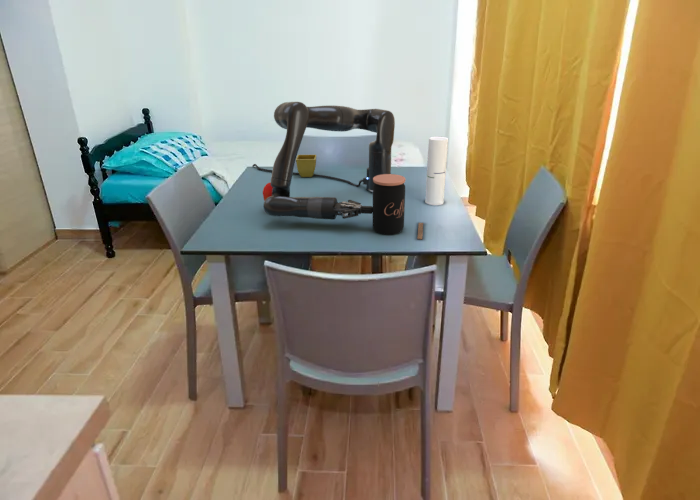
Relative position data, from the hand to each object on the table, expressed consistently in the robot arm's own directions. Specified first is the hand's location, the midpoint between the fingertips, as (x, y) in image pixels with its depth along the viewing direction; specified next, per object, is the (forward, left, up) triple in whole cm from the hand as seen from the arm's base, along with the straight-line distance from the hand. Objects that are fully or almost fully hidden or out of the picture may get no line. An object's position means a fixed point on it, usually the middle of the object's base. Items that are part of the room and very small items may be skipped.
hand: (372, 210), depth 164 cm
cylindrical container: (+4, +37, -7) cm, 38 cm away
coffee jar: (+5, +3, -7) cm, 9 cm away
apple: (-40, -6, -7) cm, 41 cm away
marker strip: (+14, +8, -7) cm, 18 cm away
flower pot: (-62, +36, -7) cm, 72 cm away
